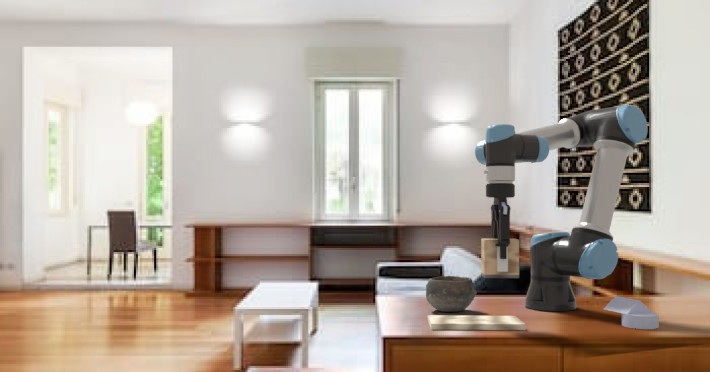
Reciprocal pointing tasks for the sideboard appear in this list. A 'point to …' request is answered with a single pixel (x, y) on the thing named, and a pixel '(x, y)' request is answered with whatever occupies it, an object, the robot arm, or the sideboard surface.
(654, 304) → the sideboard surface
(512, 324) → the board
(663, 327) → the sideboard surface
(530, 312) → the sideboard surface
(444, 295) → the bowl
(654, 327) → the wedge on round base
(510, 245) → the block
